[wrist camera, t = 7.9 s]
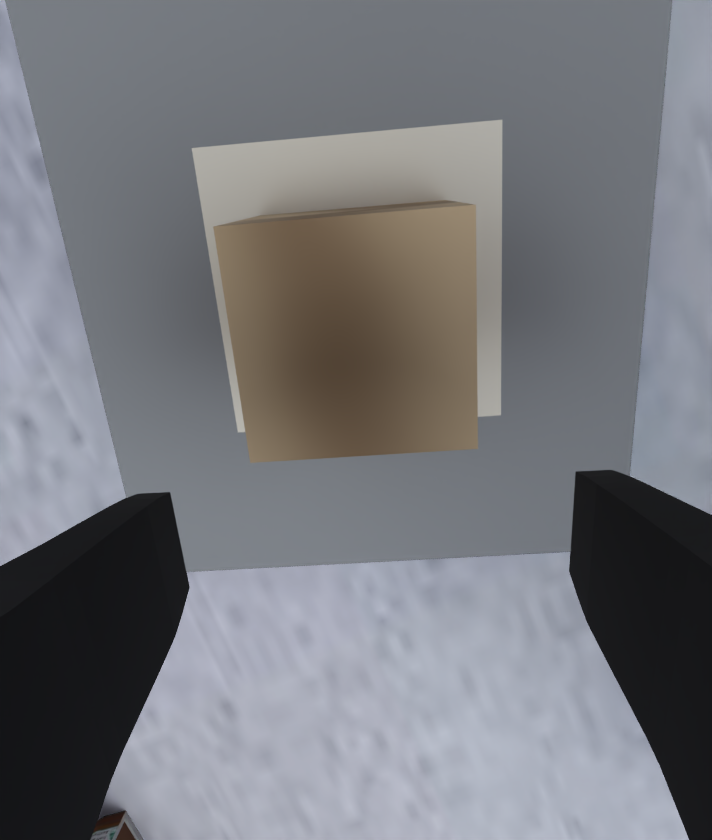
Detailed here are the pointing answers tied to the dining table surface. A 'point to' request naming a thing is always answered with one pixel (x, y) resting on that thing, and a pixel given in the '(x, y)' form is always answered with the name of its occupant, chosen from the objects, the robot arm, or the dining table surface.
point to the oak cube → (354, 329)
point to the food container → (116, 828)
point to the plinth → (349, 188)
